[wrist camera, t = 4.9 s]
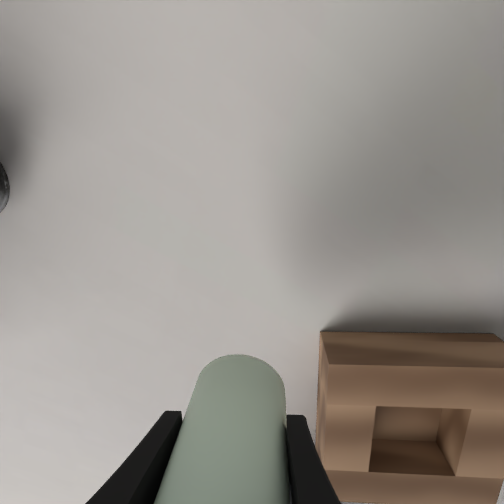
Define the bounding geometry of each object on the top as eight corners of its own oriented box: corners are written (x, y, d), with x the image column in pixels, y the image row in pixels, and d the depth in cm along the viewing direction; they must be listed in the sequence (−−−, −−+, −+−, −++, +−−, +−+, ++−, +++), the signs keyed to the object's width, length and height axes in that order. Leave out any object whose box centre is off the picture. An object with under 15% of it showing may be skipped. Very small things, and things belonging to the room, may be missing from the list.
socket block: (462, 460, 23) (494, 510, 20) (315, 453, 24) (321, 500, 21) (493, 333, 20) (538, 368, 16) (320, 331, 21) (328, 364, 17)
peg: (285, 428, 13) (296, 692, 7) (200, 425, 14) (130, 674, 7) (285, 355, 12) (297, 586, 6) (192, 353, 13) (99, 571, 6)
